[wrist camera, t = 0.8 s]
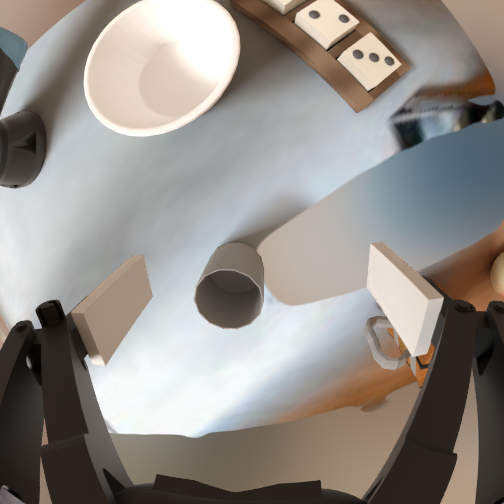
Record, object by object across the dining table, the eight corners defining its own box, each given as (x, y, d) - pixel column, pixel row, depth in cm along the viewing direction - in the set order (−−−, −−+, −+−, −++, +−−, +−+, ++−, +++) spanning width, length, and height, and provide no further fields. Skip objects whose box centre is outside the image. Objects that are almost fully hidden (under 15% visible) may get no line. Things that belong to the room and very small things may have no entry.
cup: (248, 232, 40) (243, 257, 31) (272, 279, 43) (274, 314, 33) (199, 256, 42) (181, 286, 32) (224, 299, 44) (215, 337, 35)
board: (231, 6, 28) (230, -1, 26) (286, -29, 25) (287, -36, 23) (356, 113, 33) (361, 110, 31) (403, 71, 30) (410, 68, 28)
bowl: (110, 59, 31) (73, 41, 21) (222, 8, 28) (210, -29, 18) (142, 160, 37) (104, 165, 27) (265, 111, 34) (266, 95, 24)
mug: (451, 276, 41) (498, 316, 27) (432, 336, 46) (465, 383, 32) (361, 278, 42) (397, 331, 28) (347, 344, 47) (369, 405, 32)
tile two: (294, 24, 28) (296, 12, 24) (321, 5, 26) (326, -6, 23) (325, 50, 29) (331, 41, 25) (352, 31, 27) (360, 21, 24)
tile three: (336, 60, 29) (343, 51, 26) (362, 40, 28) (371, 31, 24) (366, 91, 31) (376, 85, 27) (391, 70, 29) (402, 64, 26)
